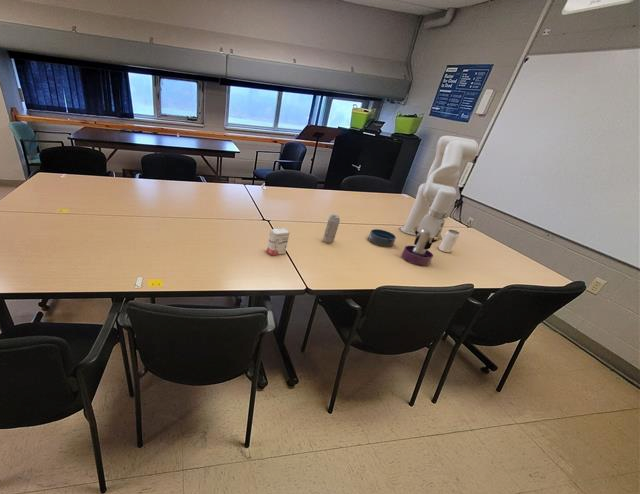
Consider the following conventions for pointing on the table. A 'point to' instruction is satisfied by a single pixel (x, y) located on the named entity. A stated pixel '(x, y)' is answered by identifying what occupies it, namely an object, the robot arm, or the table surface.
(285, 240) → the ink box
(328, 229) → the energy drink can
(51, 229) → the table surface
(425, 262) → the plum bowl
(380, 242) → the blue bowl
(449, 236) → the can
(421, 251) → the silver metal bottle
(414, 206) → the robot arm
